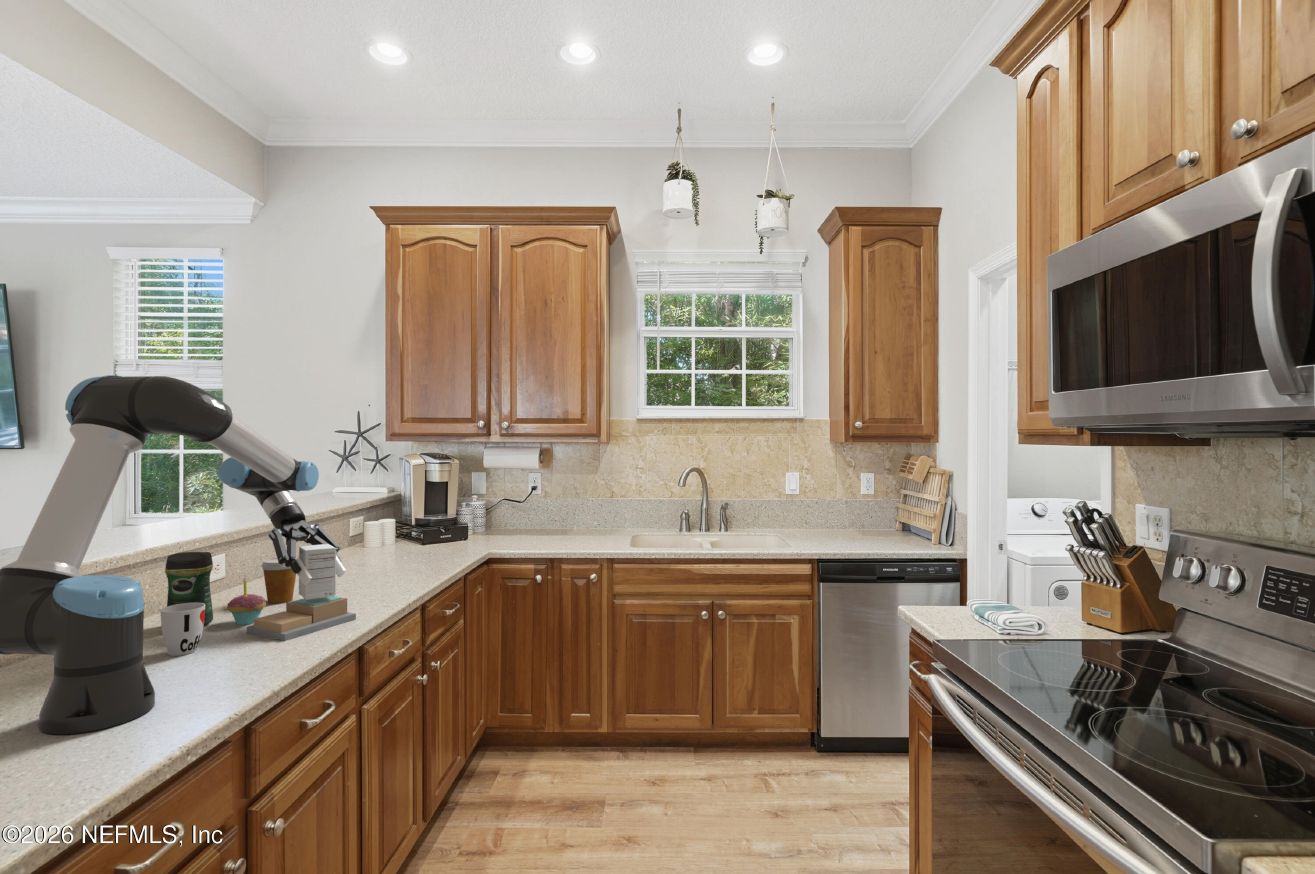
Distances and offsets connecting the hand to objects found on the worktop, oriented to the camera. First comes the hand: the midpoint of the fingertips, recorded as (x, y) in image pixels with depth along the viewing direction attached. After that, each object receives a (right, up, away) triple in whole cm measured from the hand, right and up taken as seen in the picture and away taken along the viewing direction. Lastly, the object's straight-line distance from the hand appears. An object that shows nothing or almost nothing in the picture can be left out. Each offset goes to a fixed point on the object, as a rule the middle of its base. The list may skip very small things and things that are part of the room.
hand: (325, 577), depth 167 cm
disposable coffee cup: (-24, -12, +22) cm, 35 cm away
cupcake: (-21, -12, +1) cm, 24 cm away
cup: (-20, -12, -23) cm, 33 cm away
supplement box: (-3, -5, +1) cm, 6 cm away
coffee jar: (-33, -12, -3) cm, 35 cm away
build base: (-5, -12, -2) cm, 13 cm away
